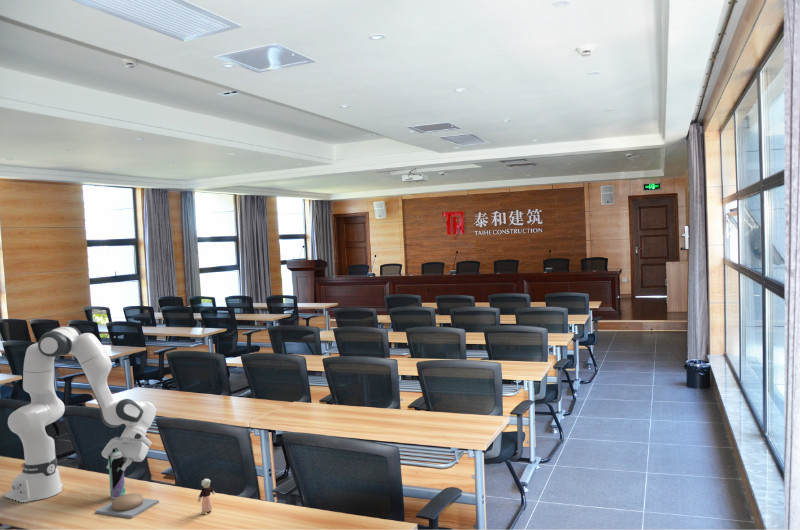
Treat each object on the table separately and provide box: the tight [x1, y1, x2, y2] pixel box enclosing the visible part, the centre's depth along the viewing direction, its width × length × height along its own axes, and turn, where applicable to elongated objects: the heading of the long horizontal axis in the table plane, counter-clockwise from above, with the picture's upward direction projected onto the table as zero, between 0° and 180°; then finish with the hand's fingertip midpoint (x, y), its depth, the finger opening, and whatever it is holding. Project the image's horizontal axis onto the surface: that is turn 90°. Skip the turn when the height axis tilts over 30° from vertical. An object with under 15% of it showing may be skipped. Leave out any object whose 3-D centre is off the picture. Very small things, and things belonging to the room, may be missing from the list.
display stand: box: [95, 492, 160, 519], centre depth 235 cm, size 18×14×4 cm
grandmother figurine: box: [197, 478, 216, 515], centre depth 227 cm, size 8×4×13 cm, turn 160°
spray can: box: [107, 448, 126, 500], centre depth 246 cm, size 6×6×20 cm
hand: (115, 469), depth 246 cm, fingers closed on spray can, 5 cm apart
